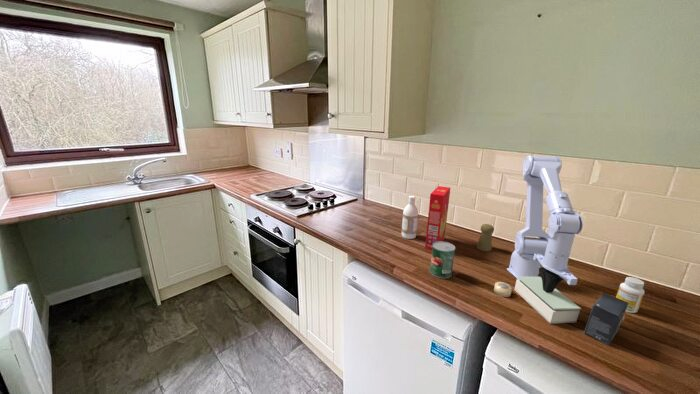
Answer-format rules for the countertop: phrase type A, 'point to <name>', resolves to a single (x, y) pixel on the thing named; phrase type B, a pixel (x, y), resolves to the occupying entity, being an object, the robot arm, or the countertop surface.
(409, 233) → the bath foam
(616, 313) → the box
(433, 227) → the food packaging
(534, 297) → the keepsake box
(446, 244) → the canned tomato
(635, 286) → the supplement bottle
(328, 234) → the countertop surface
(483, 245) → the olive pepper mill
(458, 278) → the countertop surface
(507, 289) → the cream domed disc
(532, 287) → the lid
